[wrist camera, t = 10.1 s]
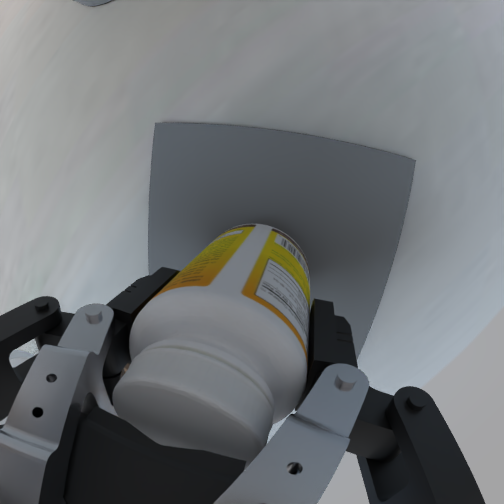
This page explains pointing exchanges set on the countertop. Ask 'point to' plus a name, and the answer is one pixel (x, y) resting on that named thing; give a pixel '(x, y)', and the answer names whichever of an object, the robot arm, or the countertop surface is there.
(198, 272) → the supplement bottle
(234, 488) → the robot arm
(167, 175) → the rubber mat
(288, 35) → the countertop surface
